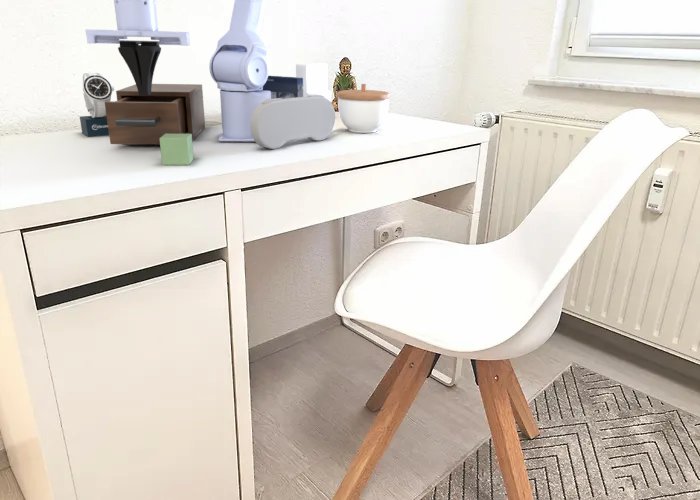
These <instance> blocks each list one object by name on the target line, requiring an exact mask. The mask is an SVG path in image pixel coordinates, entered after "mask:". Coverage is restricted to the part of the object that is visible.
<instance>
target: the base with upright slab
mask: <svg viewBox="0 0 700 500" xmlns="http://www.w3.org/2000/svg"><path fill="white" fill-rule="evenodd" d="M295 77H297V78H303V87H302V89H303V97H307V95H323V96H325V98H327V99H329V100H330V102H331V103H332V91H331V90H330V89H329V90H328V63H318V62H316V63H315V62H314V63H300V64H299V63H298V64H295Z"/></svg>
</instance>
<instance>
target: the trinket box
mask: <svg viewBox="0 0 700 500" xmlns="http://www.w3.org/2000/svg"><path fill="white" fill-rule="evenodd" d="M360 85H361V87H360V89H343V90H339V91H337V94H336V95H337V110H338V115H339V118H340V121H341V123H342V125H344V126H345V128H347V131H348V132H350V133H356V134H357V133H359V134H370V133H371V134H372V133H376V132H378V129H379V128H381V126H382V125H384V123H385V121H386V119H387V115H388V113H389V112H388V111H389V106H390V105H389V104H390V97H391V94H390V93H389V92H388V91H383V90H374V89H367V83H361V84H360Z"/></svg>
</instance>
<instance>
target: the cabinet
mask: <svg viewBox="0 0 700 500" xmlns="http://www.w3.org/2000/svg"><path fill="white" fill-rule="evenodd" d="M115 94H116V101H117V100H120V99H122V98H125V97H127V96H182V97H185V100H186V111H187V123H188V132H187V133H186V134H192V141H194V140H195V139H196V138H197V137H198V136H199V135H200V134H201V133H202V132H203V130H204V129H206V121H205V107H204V106H205V105H204V93H203V84H201V83H200V84H199V83H198V84H197V83H196V84H195V83H194V84H192V83H191V84H189V83H152V87H151V94H150V95H139V93H138V89H137V86H136V83H135V84H133V85H130V86H129V85H128V86H127V87H123V88H121V89H118V90H116V91H115Z"/></svg>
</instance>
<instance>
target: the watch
mask: <svg viewBox="0 0 700 500" xmlns="http://www.w3.org/2000/svg"><path fill="white" fill-rule="evenodd" d="M82 91H83V93H82V94H83V98H84V103H85V108H86V110H87V112H88V114H89V115H84V116H83V115H82V116H81V115H80V116H79V120H80V121H79V122H80V129H81V134H82V135H84V136H86V137H87V138H90V137H100V136H101V137H102V136H109V130H108V123H107V116H106V109H105V102H107V101H111V99H112V94H113V92H114V91H115V87H114V86H112V83H110V81H109V79H107V78H106V77H104V76H103V74H100V73H98V72H86V73H83V74H82Z"/></svg>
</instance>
